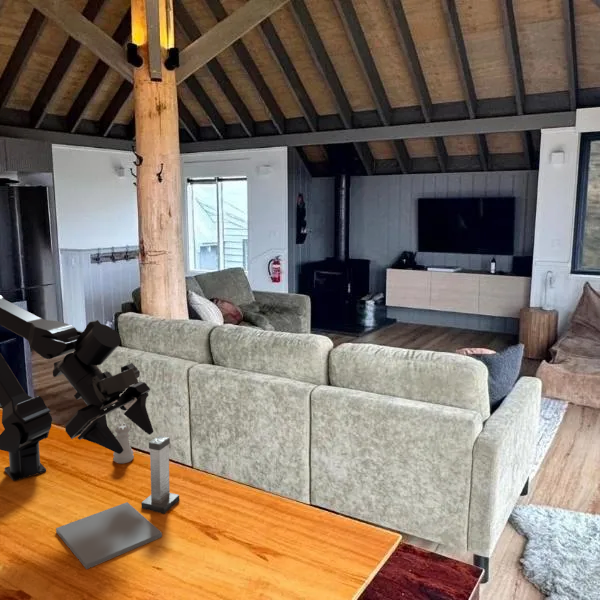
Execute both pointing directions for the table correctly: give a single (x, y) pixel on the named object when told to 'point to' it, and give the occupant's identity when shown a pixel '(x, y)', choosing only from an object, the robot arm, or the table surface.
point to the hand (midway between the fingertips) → (137, 442)
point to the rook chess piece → (123, 445)
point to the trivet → (107, 534)
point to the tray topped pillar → (160, 477)
